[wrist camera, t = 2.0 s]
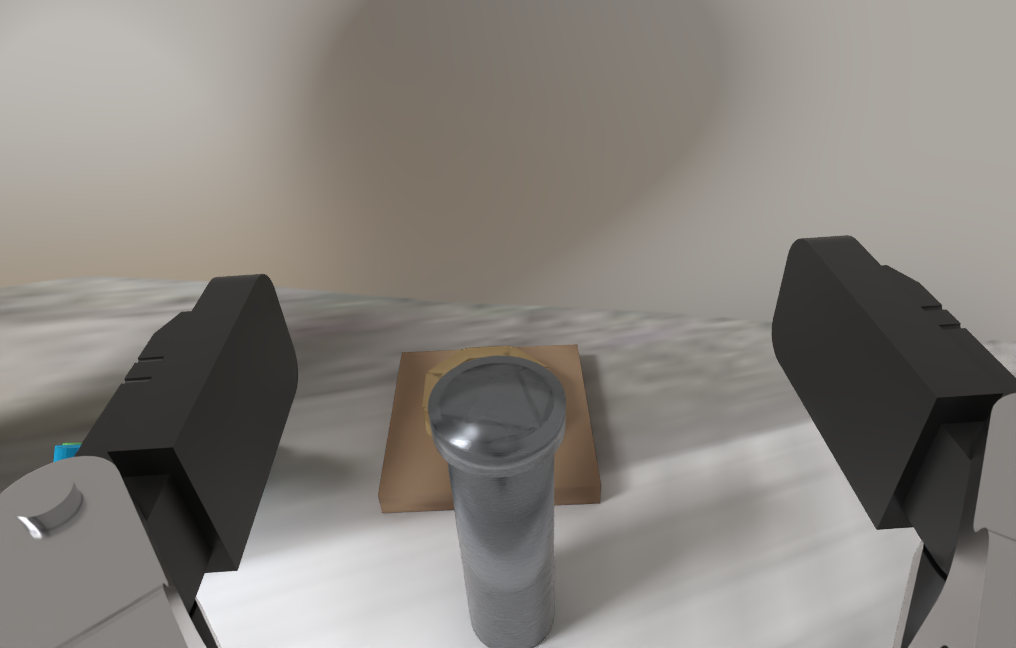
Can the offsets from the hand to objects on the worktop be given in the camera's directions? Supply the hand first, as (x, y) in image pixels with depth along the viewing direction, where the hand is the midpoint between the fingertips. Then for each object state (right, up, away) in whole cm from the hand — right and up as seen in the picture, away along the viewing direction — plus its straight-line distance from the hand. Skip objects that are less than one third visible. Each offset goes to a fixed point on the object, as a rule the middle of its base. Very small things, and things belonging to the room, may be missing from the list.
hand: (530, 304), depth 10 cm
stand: (-1, -7, +30) cm, 31 cm away
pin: (0, -14, +21) cm, 25 cm away
